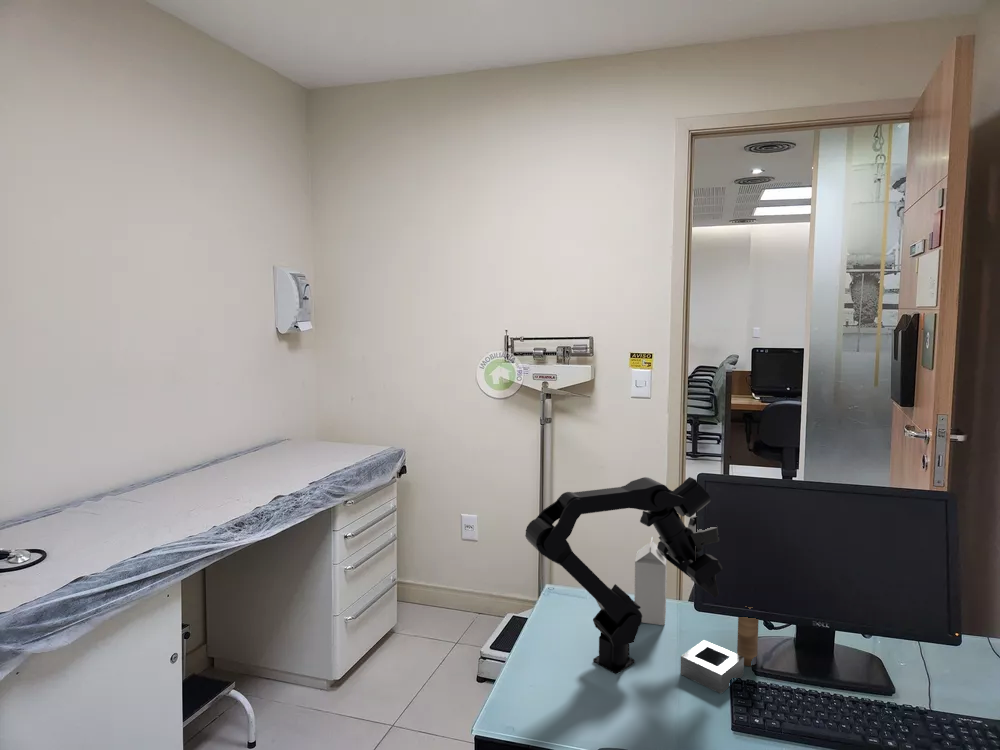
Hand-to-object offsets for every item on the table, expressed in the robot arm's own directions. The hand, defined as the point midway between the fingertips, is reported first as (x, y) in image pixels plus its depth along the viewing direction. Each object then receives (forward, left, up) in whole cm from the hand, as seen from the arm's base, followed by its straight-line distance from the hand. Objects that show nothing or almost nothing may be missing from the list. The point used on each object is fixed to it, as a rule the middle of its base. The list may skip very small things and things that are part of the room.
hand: (705, 587), depth 138 cm
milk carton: (+3, +16, -14) cm, 22 cm away
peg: (+2, -9, -14) cm, 17 cm away
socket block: (-8, -6, -14) cm, 17 cm away
